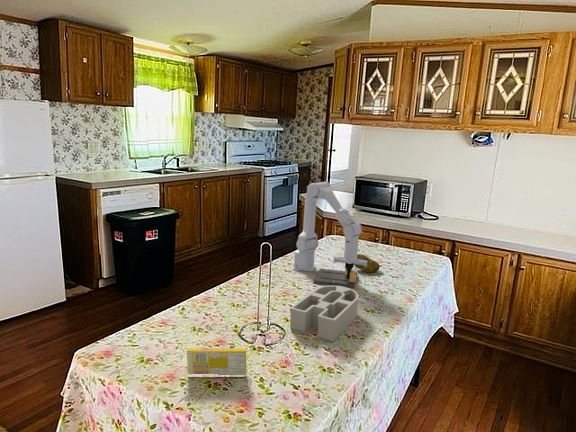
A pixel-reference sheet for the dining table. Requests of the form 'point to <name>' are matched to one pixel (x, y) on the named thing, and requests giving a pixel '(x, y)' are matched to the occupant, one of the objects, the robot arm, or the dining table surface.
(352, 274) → the fader near
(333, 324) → the grey compartment organizer
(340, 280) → the console
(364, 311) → the dining table surface
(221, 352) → the candy box
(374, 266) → the potato
